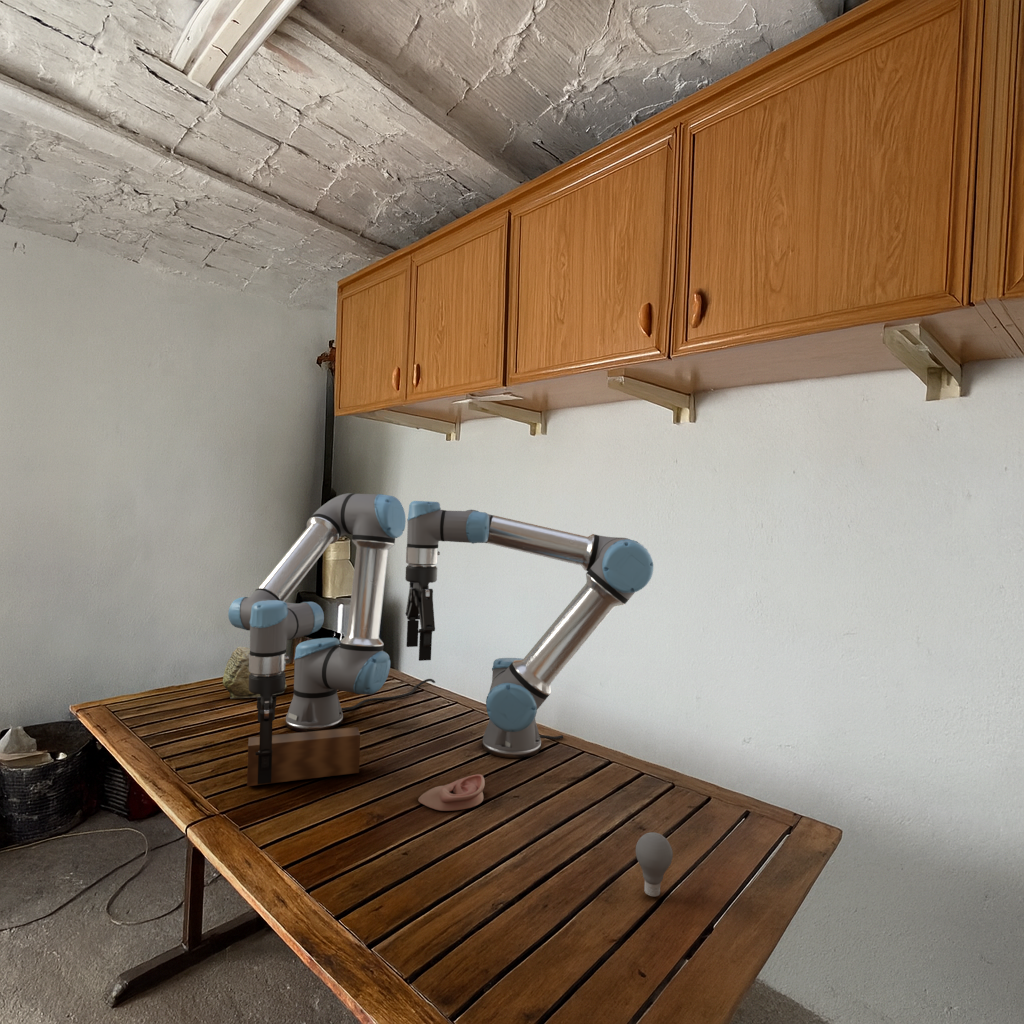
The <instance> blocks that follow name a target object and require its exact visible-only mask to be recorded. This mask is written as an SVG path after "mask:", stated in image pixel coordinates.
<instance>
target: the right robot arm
mask: <svg viewBox="0 0 1024 1024" xmlns="http://www.w3.org/2000/svg"><path fill="white" fill-rule="evenodd" d="M406 521H407V531H406V532H407V533H406V547H405V549H406V551H405V564H407V565H406V566H405V578H404V579H405V581H406V582H408V583H409V589H408V596H407V601H406V602H407V603H406V609H405V616H406V619H407V622H406V623H407V624H406V644H405V645H406V646H405V647H406V648H415V647H416V648H418V661H419V662H421V661H432V646H433V645H432V644H433V643H432V642H433V641H432V640H433V632H435V631H436V624H435V611H434V590H433V588H430V585H429V584H431V583H436V582H437V581H438V567H437V564H438V558H439V557H438V556H440V555H441V552H440V551H439V542H450V543H451V542H452V543H469V544H473V545H475V544H487V545H492V546H497V547H500V548H506V549H508V550H509V549H510V550H515V551H519V552H522V553H525V554H526V553H527V554H530V555H535V556H539V557H543V558H549V559H552V560H555V561H561V562H565V563H568V564H573V565H577V566H580V567H582V569H583V570H584V571H586V573H585V579H586V581H585V584H584V585H583V586H582V588H581V589H580V590H579V591H578V592H577V594H576V595H575V596H574V597H573V598H572V600H570V602H569V603H568V604H567V606H566V607H565V608H564V609H563V611H561V613H560V614H559V615H558V616H557V618H556V619H555V620H554V622H553V623H552V624H551V625H550V626H549V627H548V628H547V630H546V631H545V632H544V633H543V635H542V636H541V637H540V638H539V640H538V641H536V643H535V644H534V645H533V647H532V648H531V649H530V650H529V651H528V652H527V654H526V655H525V656H524V657H499V658H496V659H495V660H493V662H492V668H491V671H492V677H491V684H490V687H489V692H488V693H487V696H486V699H485V706H486V707H485V708H486V713H487V717H488V718H489V720H488V722H487V725H486V728H485V730H484V733H483V737H482V748H483V750H484V751H485V752H487V753H488V754H490V755H493V756H495V757H500V758H505V759H522V758H523V759H524V758H528V757H532V756H536V755H537V754H538V753H539V752H540V751H541V749H542V740H541V739H546V740H552V741H553V740H554V741H555V740H557V741H558V740H561V739H564V735H556V736H555V735H554V736H553V735H545V734H540V731H539V728H538V725H537V724H538V723H537V720H536V716H537V713H538V709H540V708H541V706H542V705H543V704H544V702H545V701H546V700H547V699H548V697H549V696H550V695H551V693H552V689H551V684H552V682H553V681H554V680H555V678H557V677H558V675H559V674H560V673H561V672H562V671H563V669H564V668H565V667H566V666H567V665H568V663H569V662H571V659H573V658H574V656H575V655H576V653H577V652H578V651H579V650H581V647H582V646H583V645H584V644H585V643H586V641H588V639H589V638H590V637H591V635H592V634H593V633H594V632H595V631H596V629H597V628H598V627H600V624H601V623H602V622H603V621H604V620H605V619H606V618H607V617H608V616H609V614H610V613H611V611H612V610H613V609H614V608H616V607H620V606H621V607H622V606H625V605H626V604H627V603H628V601H629V600H631V598H632V597H633V595H634V594H635V593H637V592H639V591H640V590H643V589H644V588H645V587H646V586H647V585H648V584H649V583H650V581H651V580H652V577H653V573H654V561H653V557H652V555H651V554H650V552H649V550H648V548H646V547H645V546H644V545H643V544H641V543H640V542H638V541H637V540H634V539H630V538H627V537H618V536H617V537H616V536H604V535H598V534H595V533H591V534H590V535H589V536H586V535H582V534H577V533H573V532H568V531H564V530H560V529H555V528H550V527H548V526H547V527H546V526H542V525H538V524H533V523H529V522H525V521H522V520H521V521H520V520H517V519H516V520H515V519H511V518H508V517H504V516H503V517H502V516H499V515H494V514H489V513H487V512H484V511H479V510H476V509H467V510H446V509H445V510H444V509H441V504H440V502H439V501H428V500H427V501H426V500H413V501H410V503H409V504H408V515H407V520H406ZM419 625H420V628H419Z"/></svg>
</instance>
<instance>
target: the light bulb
mask: <svg viewBox="0 0 1024 1024" xmlns="http://www.w3.org/2000/svg"><path fill="white" fill-rule="evenodd" d="M673 853H674V852H673V848H672V845H671V844H670V842H669V841H668V839H667V838H666V837H665V836H664V835H662V834H661V833H659V832H654V831H652V832H647V833H644V834H643V835H641V837H639V839H638V840H637V842H636V843H635V857H636V860H637V862H638V864H639V866H640V868H641V870H642V877H643V879H644V888H643V890H644V893H645V894H646V895H648V896H650V897H658V896H660V895H661V884H662V882H663V880H664V875H665V873H666V872H667V870H668V869H669V868H670V866H671V864H672V861H673V858H674V857H673V856H674V854H673Z"/></svg>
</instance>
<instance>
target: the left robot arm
mask: <svg viewBox="0 0 1024 1024" xmlns="http://www.w3.org/2000/svg"><path fill="white" fill-rule="evenodd" d="M406 521H407V520H406V513H405V509H404V506H403V504H402V502H401V500H400V499H398V498H397V497H395V496H393V495H389V494H383V493H382V494H381V493H355V492H348V493H347V492H346V493H343V494H339V495H336V496H335V497H333V498H331V499H330V500H327V502H326V503H324V504H323V505H321V506H320V507H319V508H318V509H316V511H314V512H313V514H312V515H310V517H309V519H308V520H307V522H306V528H305V529H304V530H303V531H302V533H301V534H300V535H299V536H298V538H297V539H295V541H294V543H292V545H291V546H290V548H288V550H286V552H285V554H284V555H283V556H282V557H281V558H280V559H279V561H278V562H277V563H276V564H275V565H274V567H273V568H272V569H271V570H270V571H269V573H268V574H267V575H266V576H265V578H264V579H263V580H262V581H261V582H260V583H259V585H257V587H256V588H255V590H254V591H253V592H252V593H251V594H250V596H241V597H240V596H239V597H238V598H236V599H234V600H233V601H232V602H231V604H230V606H229V608H228V615H227V616H228V617H227V618H228V620H229V622H230V624H231V625H232V626H233V627H234V628H237V629H240V630H245V631H249V648H250V653H249V672H250V673H251V674H250V675H249V691H250V692H251V693H254V694H260V696H261V697H256V709H257V722H259V732H258V735H259V736H260V747H259V752H256V755H255V756H257V755H258V784H262V785H265V784H264V783H270V784H272V783H271V769H272V735H273V722H274V721H275V718H276V708H277V695H273V694H274V693H278V692H280V691H282V690H283V689H284V688H285V680H286V676H287V675H286V672H285V670H286V663H287V662H286V661H289V660H290V657H289V655H287V641H290V640H293V639H297V638H301V637H305V636H310V635H311V634H313V633H316V632H319V630H320V629H322V626H323V625H324V621H325V614H324V613H325V612H324V611H323V608H322V607H321V605H319V604H318V603H317V602H314V601H302V602H300V603H296V602H286V601H287V600H288V599H289V598H290V596H291V595H292V594H293V592H294V591H295V590H296V589H297V587H298V586H299V584H300V583H301V582H302V581H303V579H304V578H305V577H306V576H307V574H309V571H311V569H313V567H314V565H315V564H316V563H317V561H318V560H319V558H321V556H322V555H323V554H324V553H325V551H326V550H327V548H328V547H329V546H330V545H332V544H336V543H337V542H338V540H339V539H340V538H341V537H343V536H346V535H352V537H351V542H352V543H353V544H354V546H355V547H356V551H355V558H354V559H355V560H354V568H353V569H354V570H353V577H352V587H351V596H350V603H349V612H348V622H347V631H346V635H345V636H344V637H343V638H342V639H341V640H339V638H337V637H321V638H313V639H307V640H304V641H302V642H299V643H298V644H297V645H296V647H295V652H294V653H295V654H294V658H293V659H294V670H293V671H294V672H293V695H292V696H293V697H292V699H291V702H290V704H289V708H288V711H287V713H286V715H285V726H286V728H287V729H289V730H291V731H294V732H295V731H296V732H300V733H301V732H312V731H322V730H333V729H336V728H337V727H339V726H340V725H342V723H343V722H344V714H343V711H344V712H345V711H351V710H355V709H356V708H359V707H360V706H361V705H363V704H365V703H368V702H374V701H375V702H376V701H389V700H396V699H400V698H405V697H408V696H410V695H412V694H414V693H415V692H416V690H417V688H419V687H420V686H422V685H423V684H425V683H428V682H432V683H433V684H435V683H436V681H435V680H434V679H433V678H426V679H424V680H422V681H420V682H419V683H417V684H416V685H414V686H413V688H412V690H410V691H408V692H406V693H402V694H399V695H398V694H397V695H392V696H384V697H371V698H366V699H363V700H361V701H359V702H358V703H356V704H355V705H352V706H346V707H345V706H344V707H342V706H341V702H340V699H339V695H338V691H341V692H347V693H352V694H356V695H367V696H369V695H374V694H376V693H377V692H379V691H380V690H381V689H382V687H383V686H384V684H385V683H386V681H387V679H388V677H389V674H390V670H391V659H390V657H391V656H390V655H389V654H388V653H387V652H386V651H384V642H383V640H382V639H381V638H380V631H381V620H382V613H383V605H384V593H385V586H386V585H385V584H386V576H387V567H388V558H389V557H388V556H389V551H390V549H391V548H393V547H394V546H395V545H396V544H395V543H396V539H397V538H400V537H401V536H402V535H403V534H404V531H405V529H406V523H407V522H406Z"/></svg>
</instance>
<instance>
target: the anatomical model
mask: <svg viewBox="0 0 1024 1024" xmlns="http://www.w3.org/2000/svg"><path fill="white" fill-rule="evenodd" d="M485 782H486V781H485V777H484V775H483V774H480V773H479V774H478V773H477V774H472V775H469V776H465V777H462V778H459V779H457V780H455V781H452V782H450V783H447V784H445V785H438V786H435V787H432V788H430V789H428V790H426V791H425V792H423V793H422V794H421V795H420V796H419V797H418V799H417V800H418V802H419V803H420V804H422V805H423V806H425V807H427V808H430V809H432V810H436V811H438V812H439V811H440V812H451V811H452V812H453V811H460V810H466V809H471V808H475V807H476V806H478V805H480V804H481V803H482V802H483V801H484V793H483V791H484V788H485V786H486V785H485V784H486V783H485Z"/></svg>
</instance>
